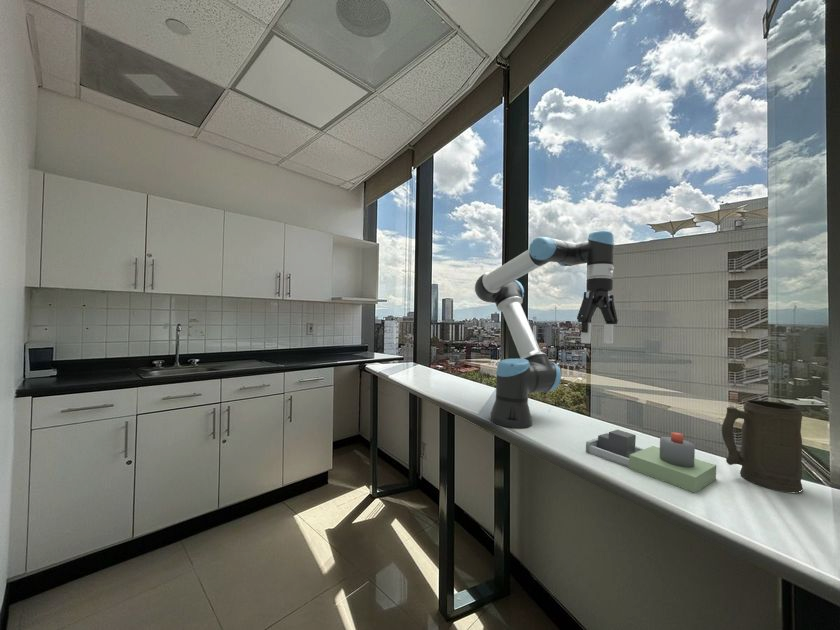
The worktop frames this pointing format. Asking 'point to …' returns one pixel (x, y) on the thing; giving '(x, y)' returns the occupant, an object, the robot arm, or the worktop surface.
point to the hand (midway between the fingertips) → (597, 343)
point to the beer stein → (767, 444)
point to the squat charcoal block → (618, 442)
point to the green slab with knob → (665, 462)
